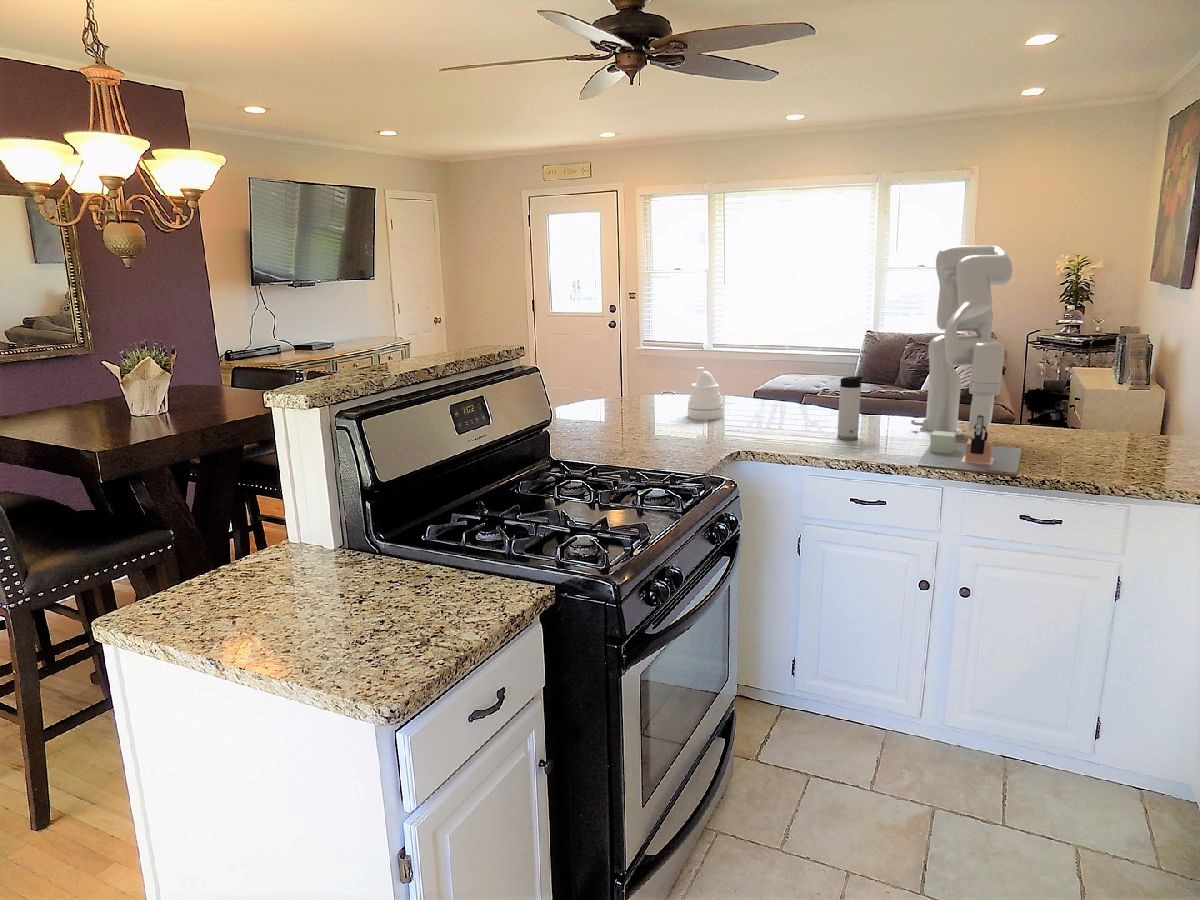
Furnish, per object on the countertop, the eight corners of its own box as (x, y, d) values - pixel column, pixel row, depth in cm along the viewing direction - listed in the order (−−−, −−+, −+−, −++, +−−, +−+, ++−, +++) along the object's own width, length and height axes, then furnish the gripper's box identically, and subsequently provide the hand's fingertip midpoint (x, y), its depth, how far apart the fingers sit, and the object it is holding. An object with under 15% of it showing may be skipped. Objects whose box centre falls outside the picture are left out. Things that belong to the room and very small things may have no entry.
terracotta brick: (964, 461, 216) (966, 443, 214) (967, 456, 221) (968, 439, 220) (989, 463, 213) (991, 445, 212) (990, 458, 218) (992, 441, 217)
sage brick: (929, 451, 227) (931, 434, 226) (932, 447, 232) (934, 430, 231) (952, 453, 224) (953, 436, 223) (954, 449, 229) (956, 432, 228)
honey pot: (686, 419, 285) (687, 370, 281) (688, 412, 298) (689, 365, 293) (722, 419, 283) (723, 370, 279) (723, 413, 296) (724, 365, 291)
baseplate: (917, 466, 215) (918, 462, 215) (932, 444, 241) (933, 440, 240) (1016, 477, 204) (1016, 472, 203) (1021, 452, 229) (1021, 448, 229)
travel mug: (855, 441, 247) (859, 377, 242) (834, 439, 250) (838, 376, 246) (861, 437, 252) (864, 375, 247) (840, 435, 255) (843, 374, 251)
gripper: (972, 382, 221) (966, 441, 225) (966, 392, 207) (960, 455, 211) (1002, 384, 218) (995, 444, 222) (998, 394, 203) (991, 458, 207)
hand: (978, 449), depth 216 cm, fingers open, 9 cm apart
